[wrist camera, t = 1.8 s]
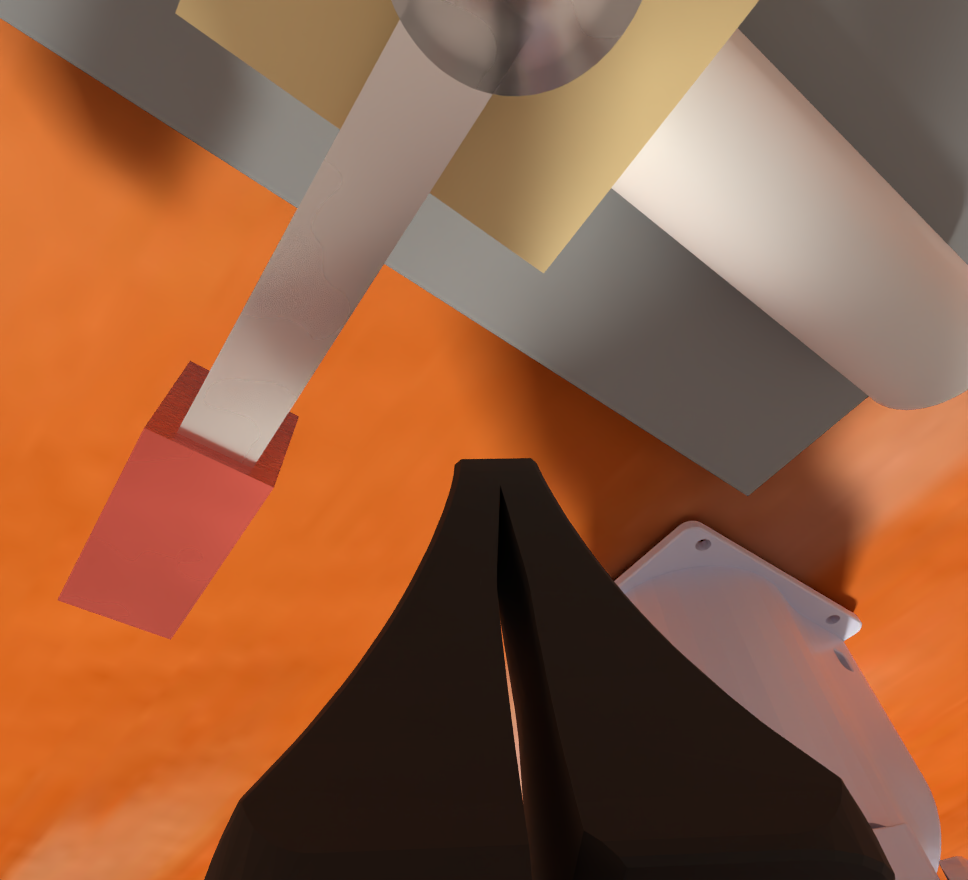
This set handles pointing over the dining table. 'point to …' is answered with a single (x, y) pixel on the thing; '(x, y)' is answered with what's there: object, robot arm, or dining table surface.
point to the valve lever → (316, 293)
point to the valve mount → (635, 194)
